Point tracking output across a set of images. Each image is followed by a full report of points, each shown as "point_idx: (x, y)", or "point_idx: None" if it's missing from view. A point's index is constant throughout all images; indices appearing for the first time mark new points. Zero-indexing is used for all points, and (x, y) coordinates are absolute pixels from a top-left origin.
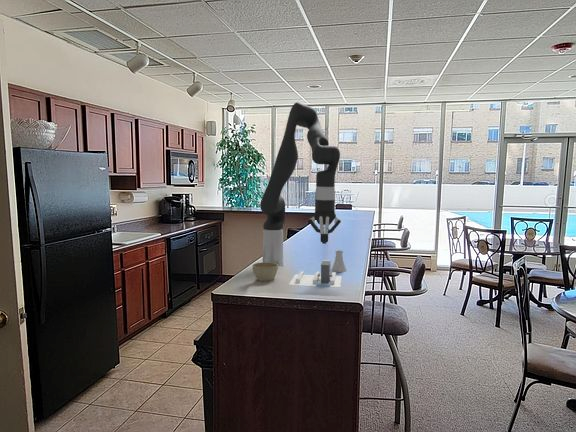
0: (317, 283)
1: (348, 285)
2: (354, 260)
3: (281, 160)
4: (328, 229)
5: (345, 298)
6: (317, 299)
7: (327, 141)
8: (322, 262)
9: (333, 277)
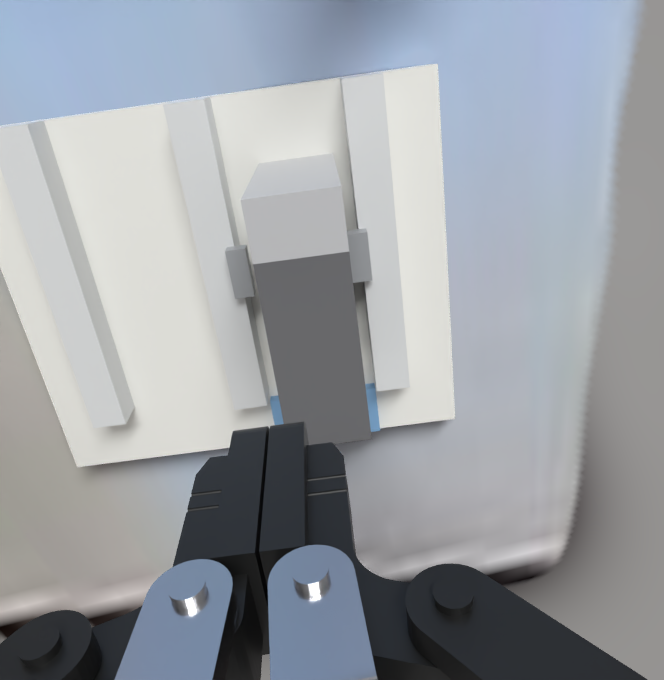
0: (280, 418)
1: (503, 243)
2: None
3: None
4: (368, 657)
5: (492, 521)
6: None
7: None
8: (275, 346)
9: (388, 296)
